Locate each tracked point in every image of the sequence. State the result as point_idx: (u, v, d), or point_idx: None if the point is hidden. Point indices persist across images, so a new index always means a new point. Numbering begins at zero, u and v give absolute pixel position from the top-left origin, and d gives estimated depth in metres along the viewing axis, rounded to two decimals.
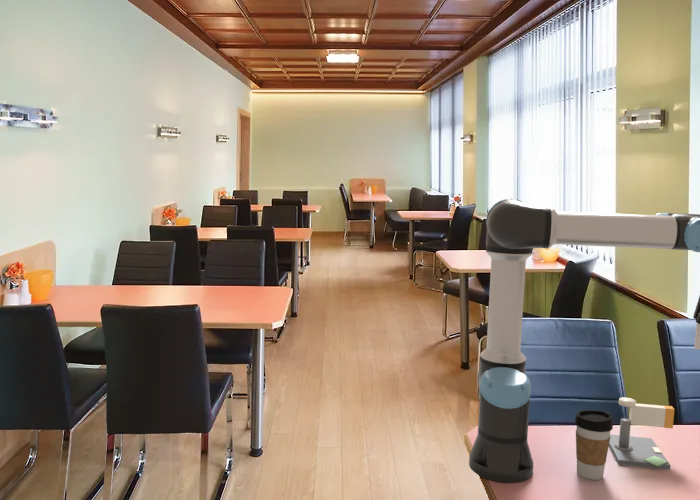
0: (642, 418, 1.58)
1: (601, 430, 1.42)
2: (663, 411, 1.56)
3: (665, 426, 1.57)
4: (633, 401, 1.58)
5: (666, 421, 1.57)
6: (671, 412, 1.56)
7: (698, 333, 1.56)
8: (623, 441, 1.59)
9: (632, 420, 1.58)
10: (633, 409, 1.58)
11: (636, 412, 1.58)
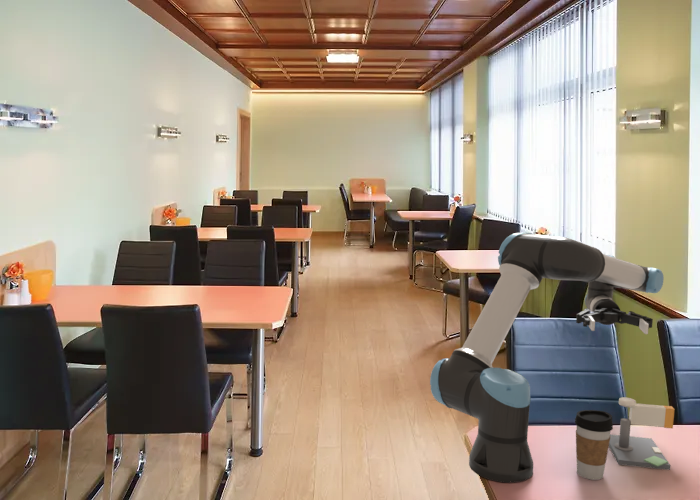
0: (642, 418, 1.58)
1: (601, 430, 1.42)
2: (663, 411, 1.56)
3: (665, 426, 1.57)
4: (633, 401, 1.58)
5: (666, 421, 1.57)
6: (671, 412, 1.56)
7: None
8: (623, 441, 1.59)
9: (632, 420, 1.58)
10: (633, 409, 1.58)
11: (636, 412, 1.58)
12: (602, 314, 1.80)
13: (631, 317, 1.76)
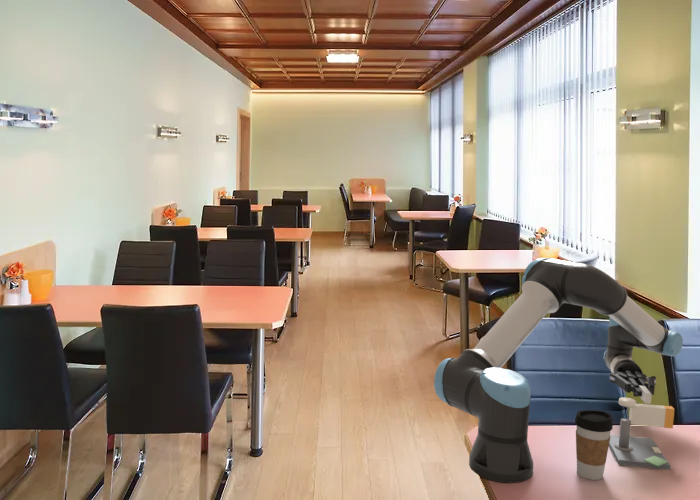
0: (642, 418, 1.58)
1: (601, 430, 1.42)
2: (663, 411, 1.56)
3: (665, 426, 1.57)
4: (633, 401, 1.58)
5: (666, 421, 1.57)
6: (671, 412, 1.56)
7: None
8: (623, 441, 1.59)
9: (632, 420, 1.58)
10: (633, 409, 1.58)
11: (636, 412, 1.58)
12: None
13: (640, 382, 1.75)
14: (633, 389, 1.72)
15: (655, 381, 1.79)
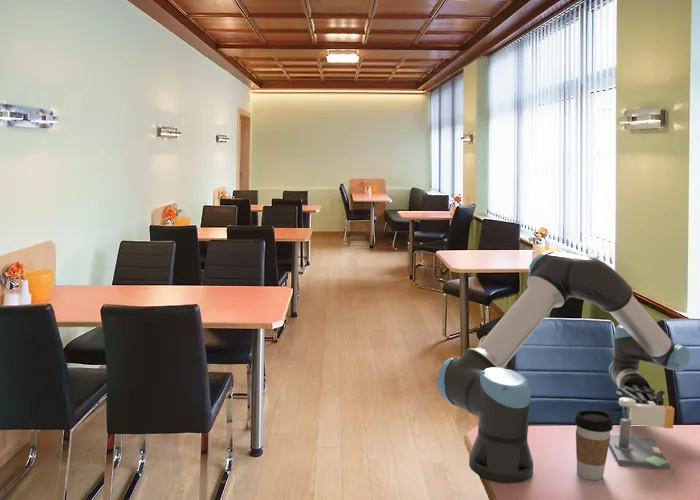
0: (642, 418, 1.58)
1: (601, 430, 1.42)
2: (663, 411, 1.56)
3: (665, 426, 1.57)
4: (633, 401, 1.58)
5: (666, 421, 1.56)
6: (671, 412, 1.56)
7: None
8: (623, 441, 1.59)
9: (632, 420, 1.58)
10: (633, 409, 1.58)
11: (636, 412, 1.58)
12: None
13: (648, 397, 1.69)
14: None
15: (663, 396, 1.73)
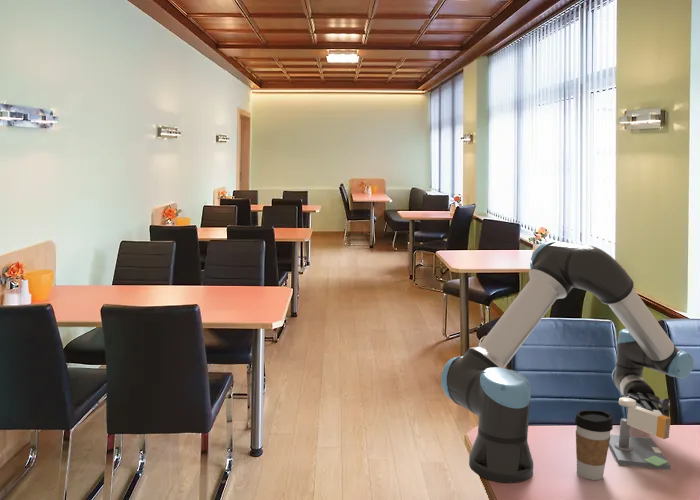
0: (637, 421, 1.56)
1: (601, 430, 1.42)
2: (655, 419, 1.51)
3: (657, 435, 1.51)
4: (630, 402, 1.57)
5: (658, 430, 1.51)
6: (662, 421, 1.50)
7: None
8: (620, 440, 1.60)
9: (628, 421, 1.58)
10: (629, 410, 1.57)
11: (631, 413, 1.57)
12: None
13: (653, 406, 1.63)
14: None
15: (669, 404, 1.67)
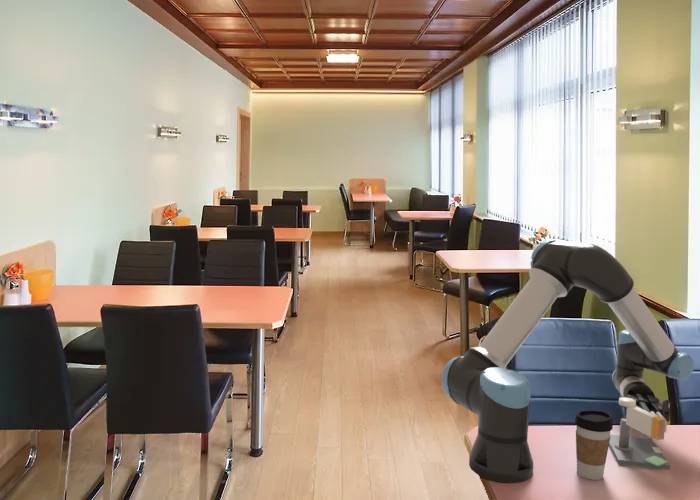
0: (634, 421, 1.55)
1: (601, 430, 1.42)
2: (650, 419, 1.51)
3: (651, 436, 1.50)
4: (629, 402, 1.57)
5: (652, 431, 1.50)
6: (656, 422, 1.49)
7: None
8: (619, 439, 1.60)
9: (627, 420, 1.58)
10: (627, 409, 1.57)
11: (630, 413, 1.57)
12: None
13: (653, 407, 1.61)
14: None
15: (669, 406, 1.65)
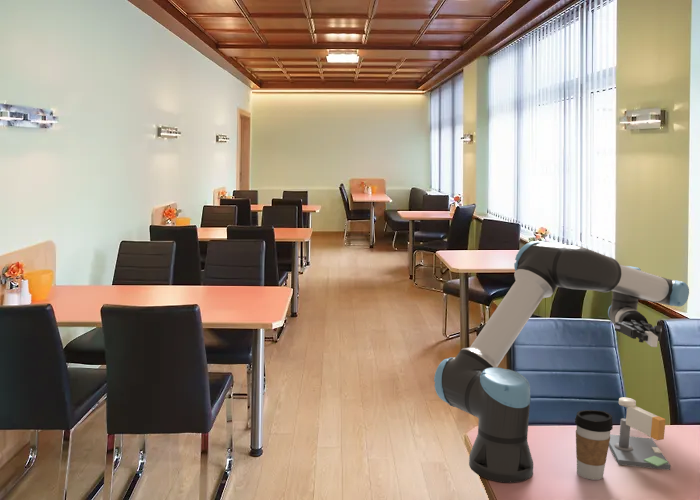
0: (634, 421, 1.55)
1: (601, 430, 1.42)
2: (650, 419, 1.51)
3: (651, 436, 1.50)
4: (629, 402, 1.57)
5: (652, 431, 1.50)
6: (656, 422, 1.49)
7: None
8: (619, 439, 1.60)
9: (627, 420, 1.58)
10: (627, 409, 1.57)
11: (630, 413, 1.57)
12: None
13: (646, 329, 1.72)
14: (639, 335, 1.69)
15: (661, 330, 1.76)
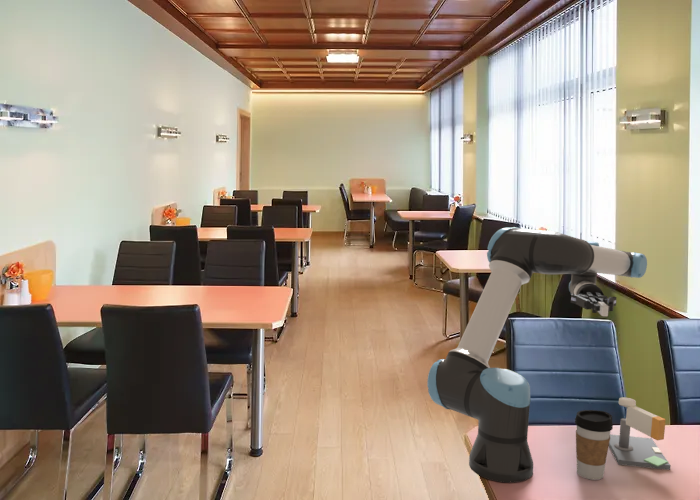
0: (634, 421, 1.55)
1: (601, 430, 1.42)
2: (650, 419, 1.51)
3: (651, 436, 1.50)
4: (629, 402, 1.57)
5: (652, 431, 1.50)
6: (656, 422, 1.49)
7: None
8: (619, 439, 1.60)
9: (627, 420, 1.58)
10: (627, 409, 1.57)
11: (630, 413, 1.57)
12: (592, 298, 1.81)
13: (600, 300, 1.77)
14: (592, 305, 1.73)
15: (615, 301, 1.80)
